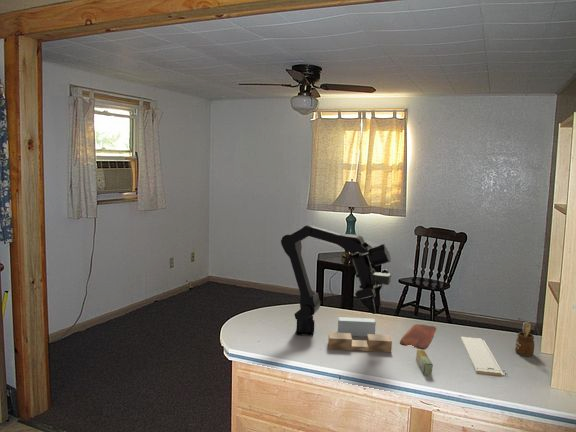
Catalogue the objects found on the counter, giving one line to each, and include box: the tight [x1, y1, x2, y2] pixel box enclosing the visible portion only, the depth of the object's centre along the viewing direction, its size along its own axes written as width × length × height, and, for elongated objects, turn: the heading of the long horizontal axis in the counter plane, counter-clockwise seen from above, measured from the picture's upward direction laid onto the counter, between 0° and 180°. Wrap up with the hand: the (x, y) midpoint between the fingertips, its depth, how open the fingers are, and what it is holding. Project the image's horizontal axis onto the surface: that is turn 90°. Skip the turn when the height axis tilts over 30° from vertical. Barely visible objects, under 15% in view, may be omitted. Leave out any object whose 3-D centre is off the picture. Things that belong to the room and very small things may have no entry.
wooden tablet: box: [399, 323, 437, 350], centre depth 183 cm, size 27×10×2 cm, turn 152°
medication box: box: [415, 349, 433, 377], centre depth 154 cm, size 12×3×4 cm, turn 177°
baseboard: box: [460, 336, 507, 377], centre depth 165 cm, size 30×3×10 cm
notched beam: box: [327, 331, 393, 353], centre depth 169 cm, size 22×6×4 cm, turn 87°
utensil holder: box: [514, 321, 535, 357], centre depth 168 cm, size 6×6×12 cm
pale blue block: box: [337, 316, 377, 337], centre depth 182 cm, size 14×4×6 cm, turn 87°
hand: (377, 310), depth 171 cm, fingers open, 9 cm apart
